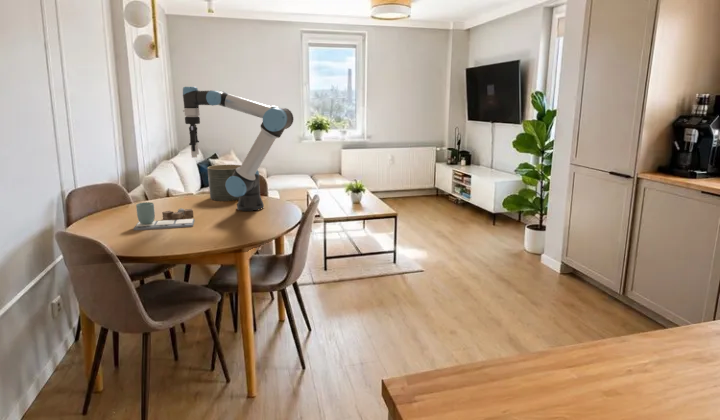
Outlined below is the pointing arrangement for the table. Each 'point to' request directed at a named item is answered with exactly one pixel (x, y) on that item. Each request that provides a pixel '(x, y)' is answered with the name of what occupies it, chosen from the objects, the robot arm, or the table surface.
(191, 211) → the walnut block
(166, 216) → the walnut block
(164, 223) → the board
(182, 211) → the grey ball
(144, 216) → the cup
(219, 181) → the planter
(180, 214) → the walnut block
